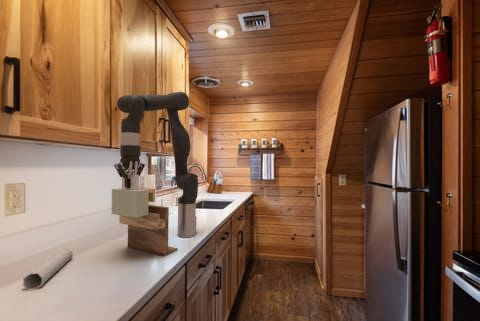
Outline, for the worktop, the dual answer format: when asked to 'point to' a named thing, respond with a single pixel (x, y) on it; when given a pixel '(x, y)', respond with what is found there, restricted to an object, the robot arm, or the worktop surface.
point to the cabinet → (132, 199)
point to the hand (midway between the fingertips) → (130, 187)
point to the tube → (47, 270)
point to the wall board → (149, 231)
